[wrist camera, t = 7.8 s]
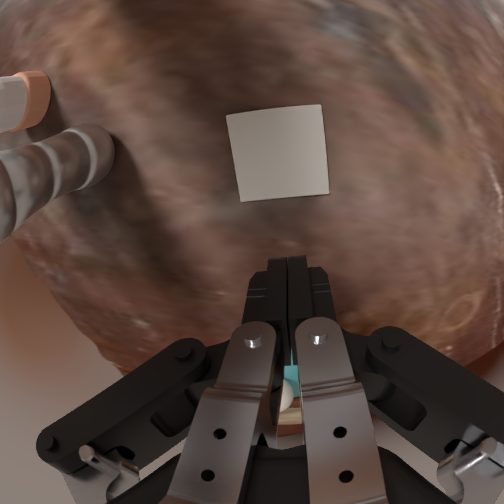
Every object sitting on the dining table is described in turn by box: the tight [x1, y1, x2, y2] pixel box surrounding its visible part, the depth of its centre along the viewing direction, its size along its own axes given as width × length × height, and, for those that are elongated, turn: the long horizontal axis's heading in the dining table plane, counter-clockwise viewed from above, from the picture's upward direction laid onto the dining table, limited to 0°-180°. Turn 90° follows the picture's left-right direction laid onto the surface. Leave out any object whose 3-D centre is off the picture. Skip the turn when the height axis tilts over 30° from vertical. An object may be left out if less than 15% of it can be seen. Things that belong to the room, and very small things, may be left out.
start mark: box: [226, 104, 329, 202], centre depth 22 cm, size 8×8×1 cm
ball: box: [280, 380, 294, 412], centre depth 35 cm, size 6×6×6 cm
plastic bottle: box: [0, 124, 115, 243], centre depth 15 cm, size 6×7×20 cm
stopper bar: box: [278, 407, 302, 424], centre depth 41 cm, size 2×16×2 cm, turn 99°
